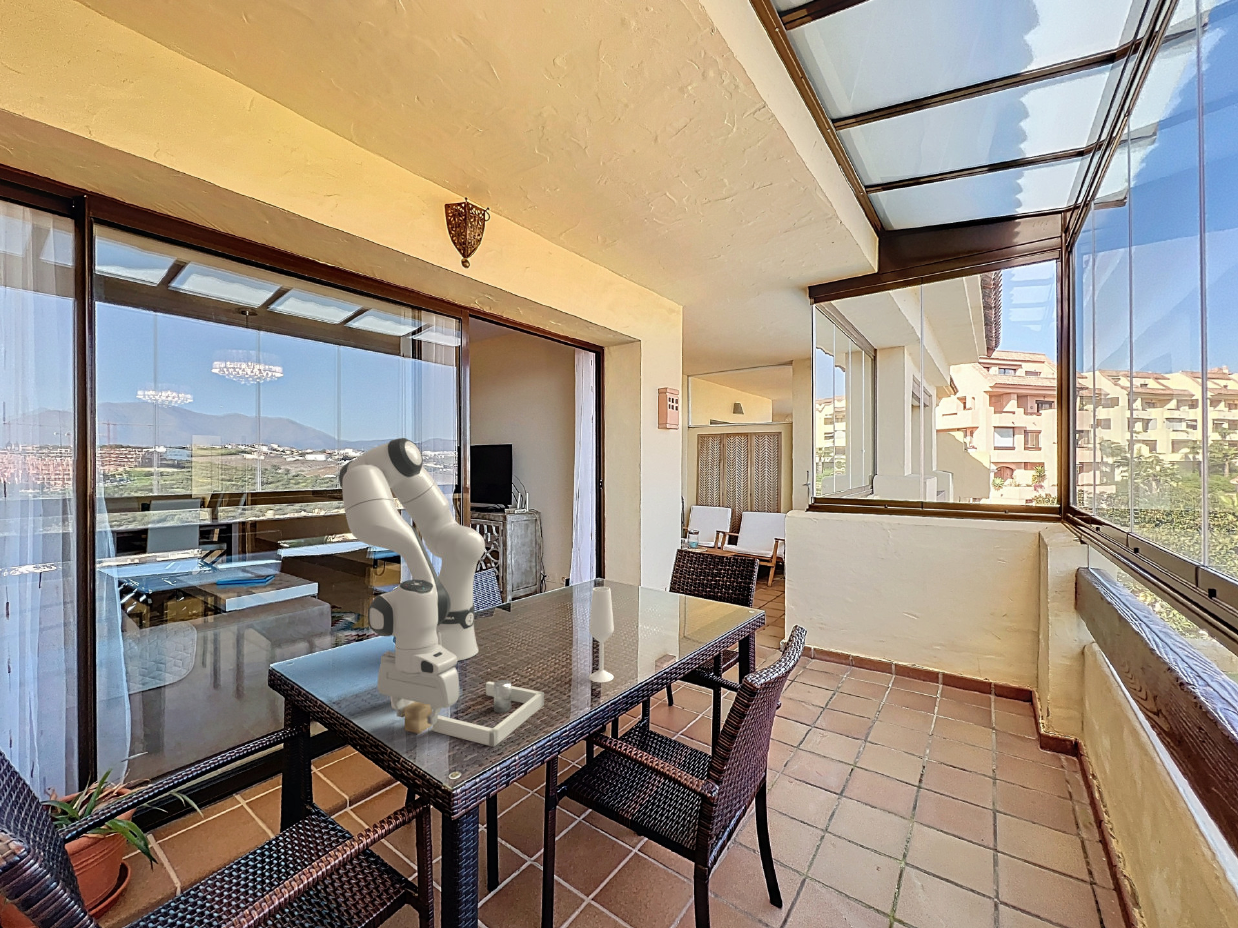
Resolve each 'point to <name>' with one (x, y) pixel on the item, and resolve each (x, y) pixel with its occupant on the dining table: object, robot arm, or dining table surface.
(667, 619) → the dining table surface
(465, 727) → the frame
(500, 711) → the steel part
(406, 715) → the oak block
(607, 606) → the champagne flute
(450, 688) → the robot arm
